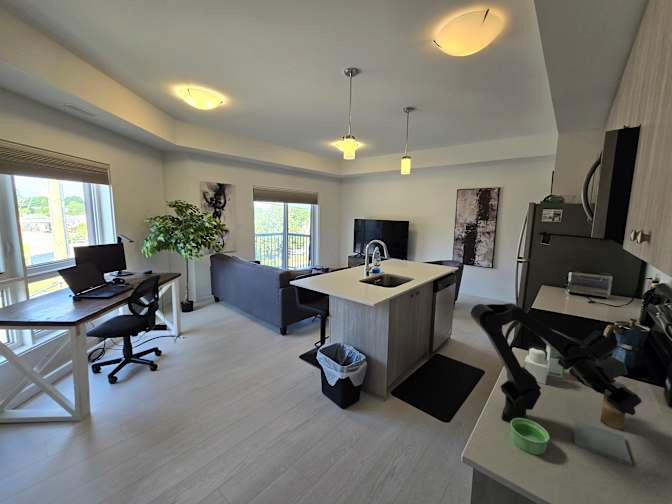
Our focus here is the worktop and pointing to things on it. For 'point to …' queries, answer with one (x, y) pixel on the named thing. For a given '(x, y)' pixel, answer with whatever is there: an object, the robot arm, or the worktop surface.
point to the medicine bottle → (537, 363)
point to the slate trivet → (601, 442)
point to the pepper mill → (612, 411)
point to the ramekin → (529, 436)
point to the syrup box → (554, 364)
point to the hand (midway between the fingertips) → (618, 403)
